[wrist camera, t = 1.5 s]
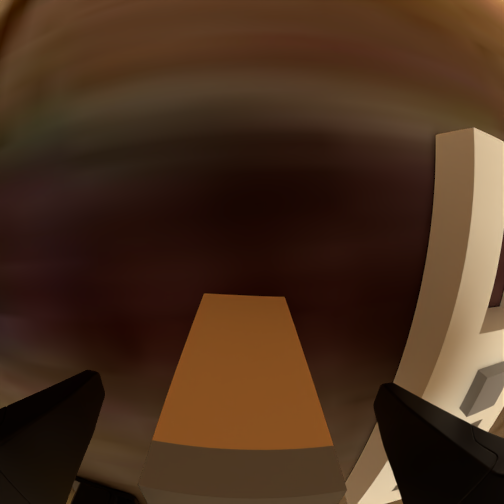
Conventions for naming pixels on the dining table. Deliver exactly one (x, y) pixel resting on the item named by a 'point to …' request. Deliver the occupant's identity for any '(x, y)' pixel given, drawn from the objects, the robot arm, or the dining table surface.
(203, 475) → the plug
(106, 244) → the dining table surface
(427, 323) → the power strip
